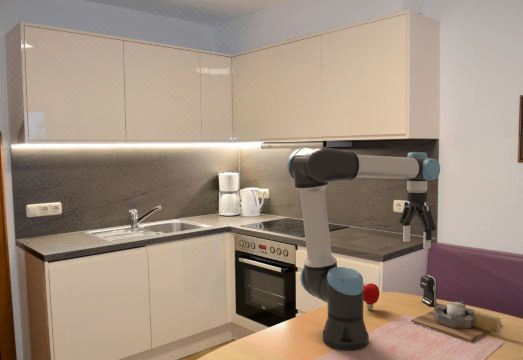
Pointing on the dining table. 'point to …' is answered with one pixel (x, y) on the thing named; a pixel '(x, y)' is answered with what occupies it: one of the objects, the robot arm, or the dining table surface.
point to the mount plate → (460, 333)
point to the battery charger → (429, 290)
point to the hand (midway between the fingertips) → (416, 244)
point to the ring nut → (467, 319)
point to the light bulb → (370, 295)
